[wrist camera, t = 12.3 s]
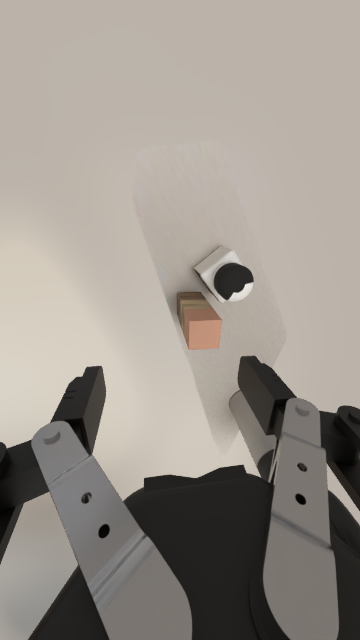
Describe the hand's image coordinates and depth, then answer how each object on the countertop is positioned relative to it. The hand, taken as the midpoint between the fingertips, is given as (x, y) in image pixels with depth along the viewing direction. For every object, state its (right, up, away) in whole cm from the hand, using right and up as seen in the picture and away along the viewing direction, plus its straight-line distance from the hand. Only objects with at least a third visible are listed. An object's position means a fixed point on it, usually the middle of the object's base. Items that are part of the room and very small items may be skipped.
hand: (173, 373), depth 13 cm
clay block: (+4, +3, +26) cm, 26 cm away
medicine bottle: (+8, +14, +33) cm, 37 cm away
